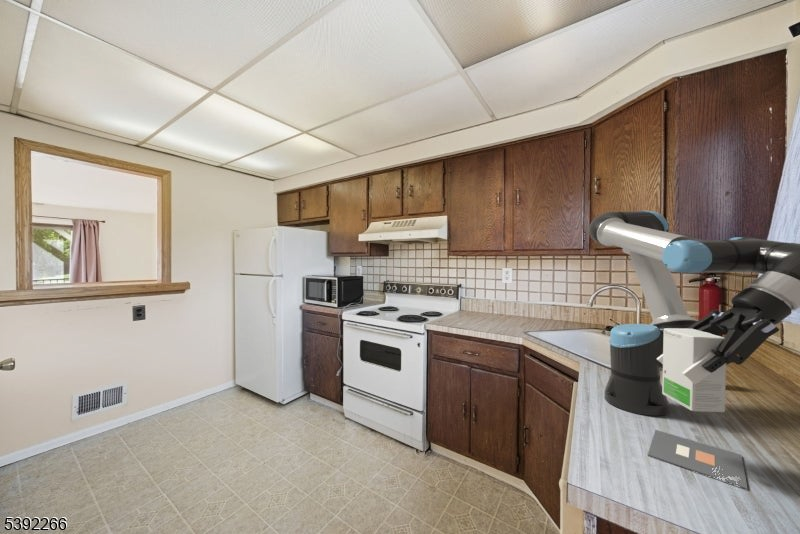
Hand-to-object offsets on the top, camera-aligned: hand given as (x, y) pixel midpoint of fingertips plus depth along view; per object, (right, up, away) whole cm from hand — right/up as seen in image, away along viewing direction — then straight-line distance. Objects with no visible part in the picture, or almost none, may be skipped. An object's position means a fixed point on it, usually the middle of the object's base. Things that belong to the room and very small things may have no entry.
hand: (674, 370), depth 64 cm
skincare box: (+3, -7, -1) cm, 8 cm away
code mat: (+3, -18, -1) cm, 18 cm away
